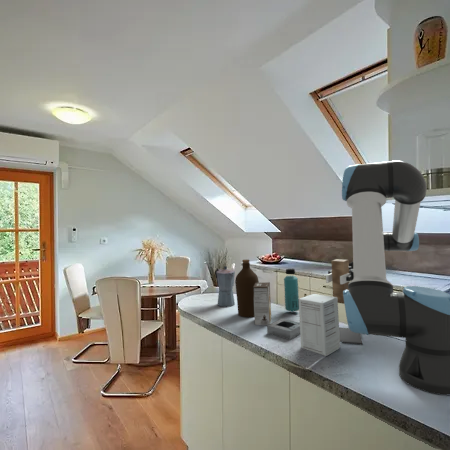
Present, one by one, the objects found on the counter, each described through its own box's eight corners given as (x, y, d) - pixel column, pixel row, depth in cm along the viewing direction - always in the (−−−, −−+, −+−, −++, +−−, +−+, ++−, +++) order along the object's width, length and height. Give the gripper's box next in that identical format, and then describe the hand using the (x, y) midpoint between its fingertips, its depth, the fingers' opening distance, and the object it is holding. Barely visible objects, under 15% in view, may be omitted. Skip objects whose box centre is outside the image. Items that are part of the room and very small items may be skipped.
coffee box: (256, 319, 138) (255, 282, 138) (271, 319, 137) (270, 282, 136) (254, 326, 129) (252, 286, 129) (270, 326, 128) (268, 286, 127)
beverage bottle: (292, 315, 140) (290, 270, 140) (281, 312, 146) (280, 269, 145) (302, 312, 144) (300, 268, 143) (292, 309, 149) (290, 267, 149)
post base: (304, 332, 119) (304, 323, 119) (290, 340, 112) (290, 331, 112) (282, 327, 126) (282, 318, 126) (267, 334, 119) (266, 325, 119)
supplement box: (341, 348, 104) (339, 297, 104) (326, 357, 98) (323, 303, 97) (315, 340, 111) (313, 292, 111) (299, 348, 105) (297, 298, 105)
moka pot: (228, 309, 155) (226, 268, 154) (208, 304, 166) (206, 266, 166) (242, 305, 161) (240, 265, 161) (222, 300, 173) (220, 263, 172)
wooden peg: (350, 301, 115) (348, 259, 114) (345, 303, 112) (343, 261, 111) (338, 299, 118) (336, 259, 117) (333, 302, 115) (331, 260, 114)
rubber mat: (362, 344, 106) (362, 342, 106) (325, 341, 110) (324, 340, 110) (359, 330, 119) (359, 328, 119) (325, 328, 123) (325, 326, 123)
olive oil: (249, 319, 138) (246, 262, 137) (232, 315, 145) (229, 260, 145) (264, 313, 145) (262, 259, 145) (247, 309, 153) (245, 257, 152)
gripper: (383, 280, 121) (359, 293, 105) (339, 276, 134) (311, 287, 117) (382, 261, 121) (358, 270, 104) (338, 258, 133) (310, 267, 117)
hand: (334, 279), depth 111 cm, fingers closed on wooden peg, 4 cm apart
